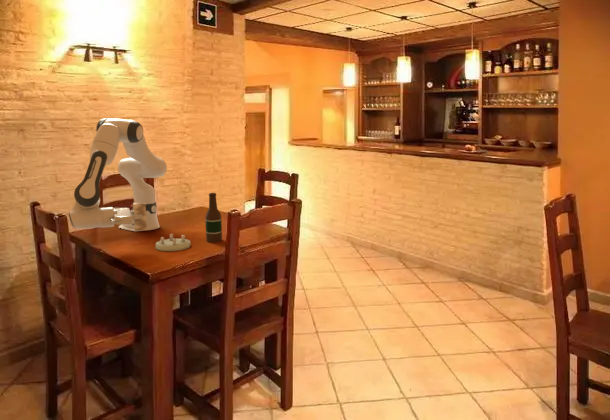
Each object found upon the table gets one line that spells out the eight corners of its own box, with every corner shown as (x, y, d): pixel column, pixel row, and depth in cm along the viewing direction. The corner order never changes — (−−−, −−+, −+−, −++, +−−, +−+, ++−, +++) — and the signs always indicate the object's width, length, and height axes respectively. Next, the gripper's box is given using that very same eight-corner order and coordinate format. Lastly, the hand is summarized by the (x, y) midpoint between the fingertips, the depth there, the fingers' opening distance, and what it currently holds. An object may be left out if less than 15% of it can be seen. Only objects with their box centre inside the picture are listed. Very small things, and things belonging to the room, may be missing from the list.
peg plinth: (158, 252, 223) (157, 242, 222) (154, 244, 238) (153, 234, 237) (193, 249, 230) (192, 238, 229) (187, 241, 244) (186, 231, 243)
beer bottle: (214, 237, 250) (212, 191, 246) (225, 240, 246) (223, 192, 241) (203, 241, 244) (201, 193, 239) (214, 243, 240) (212, 195, 235)
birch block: (135, 230, 223) (133, 204, 220) (134, 228, 227) (132, 202, 225) (146, 229, 224) (145, 203, 222) (145, 227, 229) (144, 202, 227)
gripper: (109, 214, 210) (143, 212, 215) (108, 206, 228) (139, 204, 233) (110, 229, 211) (144, 226, 216) (109, 219, 229) (140, 217, 235)
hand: (141, 214), depth 225 cm, fingers closed on birch block, 5 cm apart
